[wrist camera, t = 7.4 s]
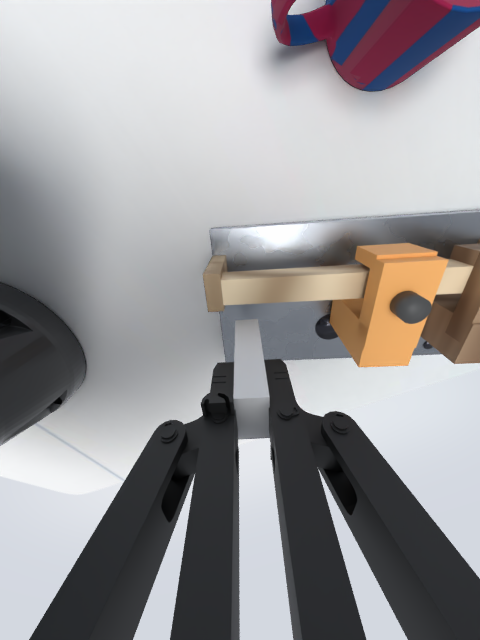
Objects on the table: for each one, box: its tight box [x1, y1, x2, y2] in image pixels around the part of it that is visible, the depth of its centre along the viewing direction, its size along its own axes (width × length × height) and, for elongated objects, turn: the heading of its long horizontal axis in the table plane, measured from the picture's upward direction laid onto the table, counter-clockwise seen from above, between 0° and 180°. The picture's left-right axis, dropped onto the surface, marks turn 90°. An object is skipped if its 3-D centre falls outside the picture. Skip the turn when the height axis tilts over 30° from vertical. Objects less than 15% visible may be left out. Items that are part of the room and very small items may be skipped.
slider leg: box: [330, 243, 449, 367], centre depth 15 cm, size 3×8×7 cm, turn 4°
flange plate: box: [210, 210, 480, 362], centre depth 19 cm, size 20×12×1 cm, turn 94°
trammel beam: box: [203, 239, 480, 364], centre depth 15 cm, size 20×8×7 cm, turn 94°
